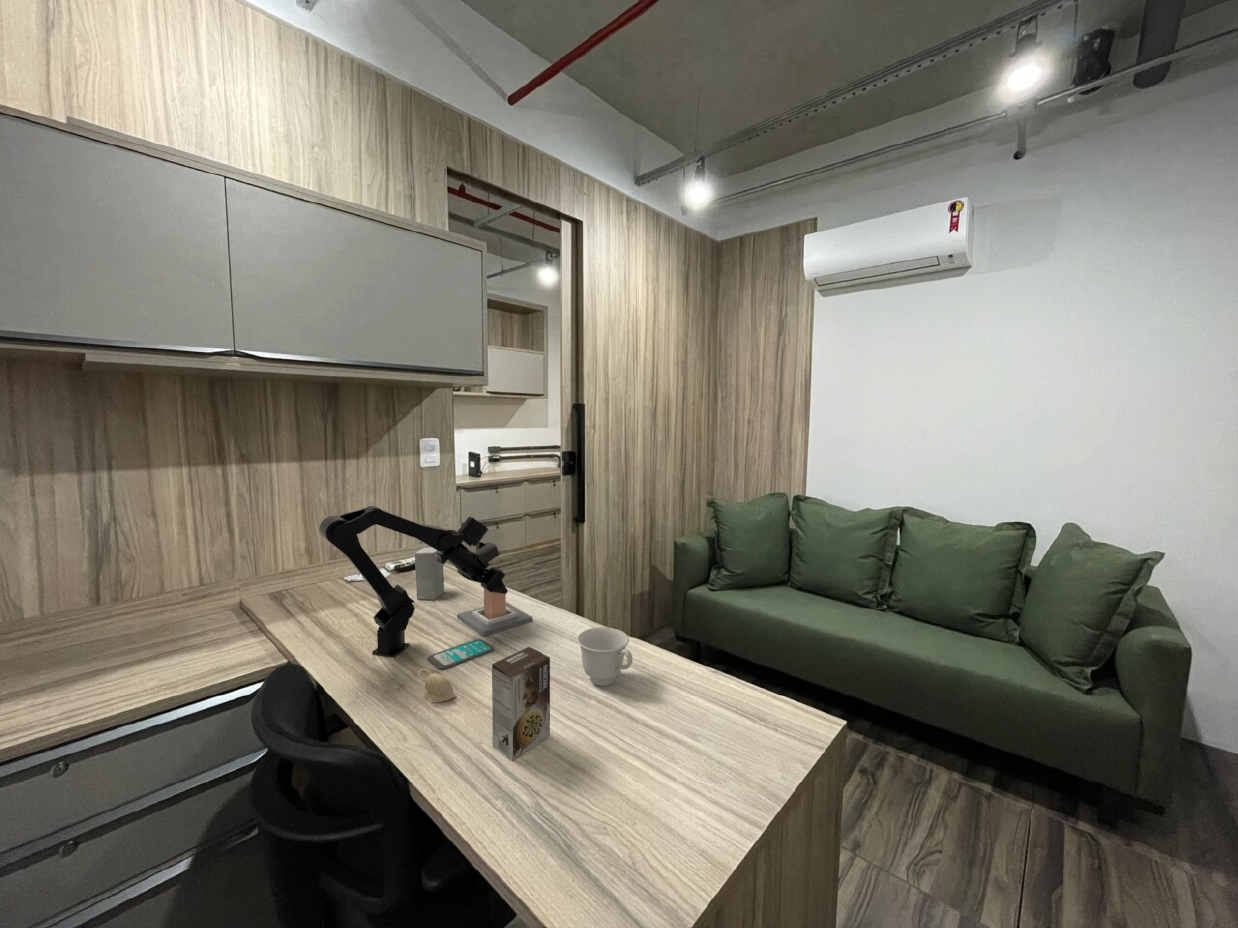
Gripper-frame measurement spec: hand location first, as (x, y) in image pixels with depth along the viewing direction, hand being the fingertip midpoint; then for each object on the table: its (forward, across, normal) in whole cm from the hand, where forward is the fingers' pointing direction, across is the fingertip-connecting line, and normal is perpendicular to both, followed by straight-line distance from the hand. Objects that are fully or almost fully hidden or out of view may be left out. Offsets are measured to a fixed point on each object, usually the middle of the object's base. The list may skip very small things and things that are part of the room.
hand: (498, 588), depth 144 cm
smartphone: (-6, -14, +20) cm, 25 cm away
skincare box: (+1, +31, +12) cm, 33 cm away
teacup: (+8, -47, +6) cm, 48 cm away
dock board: (+6, 0, +8) cm, 9 cm away
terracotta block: (+5, 0, +7) cm, 8 cm away
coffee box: (-11, -52, +24) cm, 58 cm away
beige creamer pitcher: (-15, -27, +28) cm, 42 cm away
